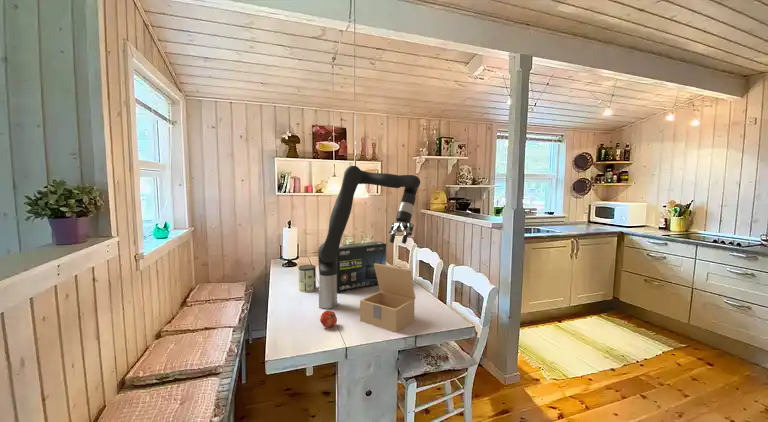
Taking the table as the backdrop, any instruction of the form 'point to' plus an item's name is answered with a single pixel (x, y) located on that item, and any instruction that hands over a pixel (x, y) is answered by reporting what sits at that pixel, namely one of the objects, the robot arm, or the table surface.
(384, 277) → the box lid
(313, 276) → the coffee can
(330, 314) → the pomegranate
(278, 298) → the table surface
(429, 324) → the table surface
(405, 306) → the cardboard box
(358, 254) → the router box
